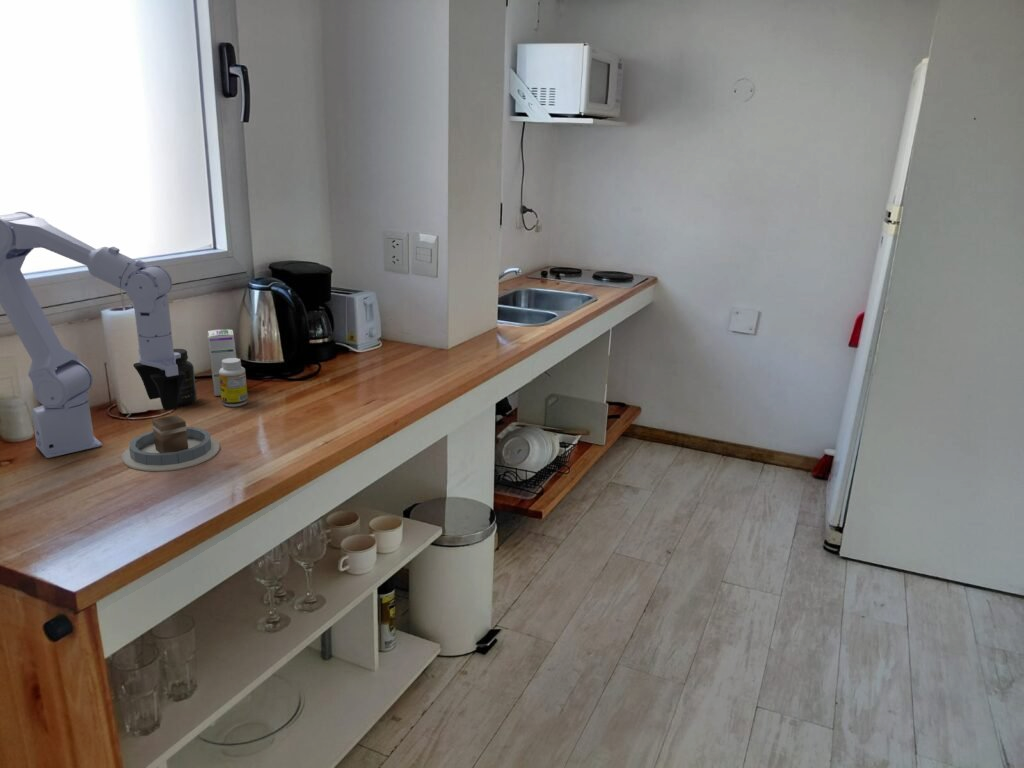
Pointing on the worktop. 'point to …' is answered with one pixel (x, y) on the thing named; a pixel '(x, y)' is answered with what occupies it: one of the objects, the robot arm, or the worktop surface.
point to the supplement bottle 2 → (233, 383)
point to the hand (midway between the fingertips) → (162, 403)
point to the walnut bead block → (170, 434)
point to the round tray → (150, 459)
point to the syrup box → (220, 353)
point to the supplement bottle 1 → (186, 380)
